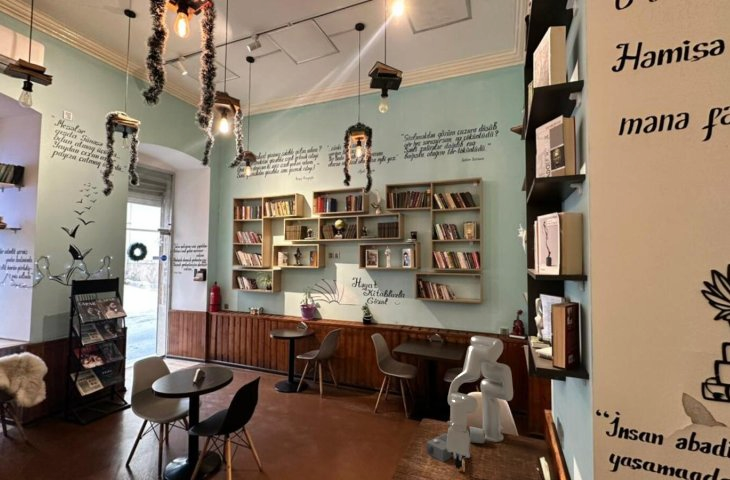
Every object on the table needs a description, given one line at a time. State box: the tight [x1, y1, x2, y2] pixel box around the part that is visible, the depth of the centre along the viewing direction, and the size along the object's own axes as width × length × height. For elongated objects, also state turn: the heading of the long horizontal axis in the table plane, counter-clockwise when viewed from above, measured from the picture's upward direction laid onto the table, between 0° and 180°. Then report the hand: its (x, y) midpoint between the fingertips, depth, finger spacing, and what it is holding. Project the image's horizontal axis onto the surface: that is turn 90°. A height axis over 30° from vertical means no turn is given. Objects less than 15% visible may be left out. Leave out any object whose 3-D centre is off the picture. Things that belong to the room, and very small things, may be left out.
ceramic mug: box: [468, 426, 486, 445], centre depth 184 cm, size 11×8×8 cm
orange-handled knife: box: [461, 458, 466, 472], centre depth 162 cm, size 21×1×4 cm, turn 167°
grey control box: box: [426, 432, 454, 463], centre depth 170 cm, size 17×10×6 cm, turn 131°
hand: (458, 467), depth 155 cm, fingers closed
